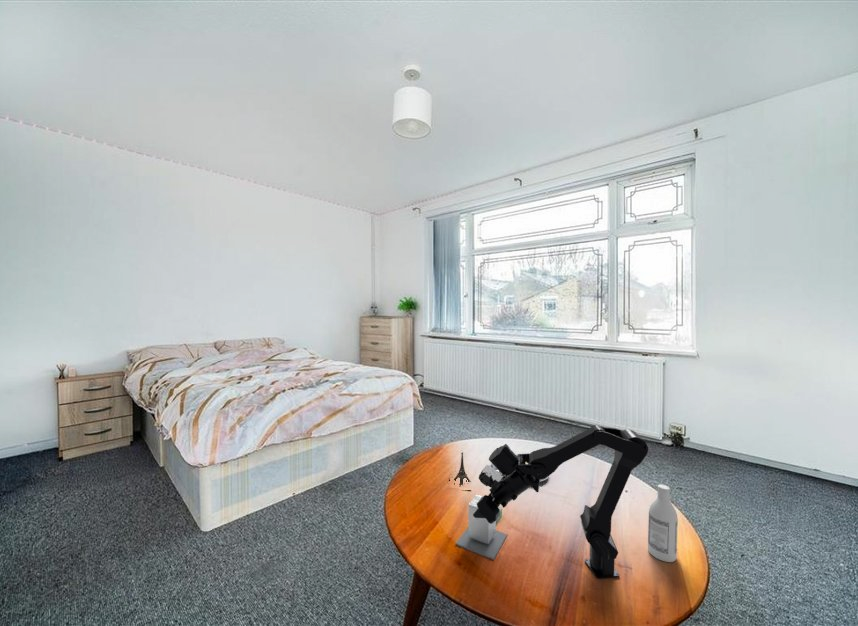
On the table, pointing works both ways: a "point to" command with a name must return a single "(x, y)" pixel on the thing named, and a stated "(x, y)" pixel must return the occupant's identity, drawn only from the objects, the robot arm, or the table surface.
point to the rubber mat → (482, 544)
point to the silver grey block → (479, 524)
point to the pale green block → (499, 515)
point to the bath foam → (663, 527)
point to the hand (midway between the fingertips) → (478, 510)
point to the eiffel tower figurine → (462, 473)
